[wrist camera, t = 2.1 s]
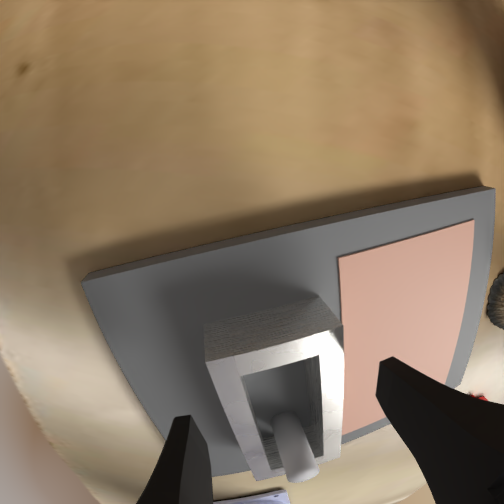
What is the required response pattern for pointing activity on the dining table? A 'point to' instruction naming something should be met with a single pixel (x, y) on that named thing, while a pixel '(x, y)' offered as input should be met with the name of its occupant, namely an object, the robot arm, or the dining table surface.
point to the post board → (295, 289)
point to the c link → (274, 355)
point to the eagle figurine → (497, 302)
